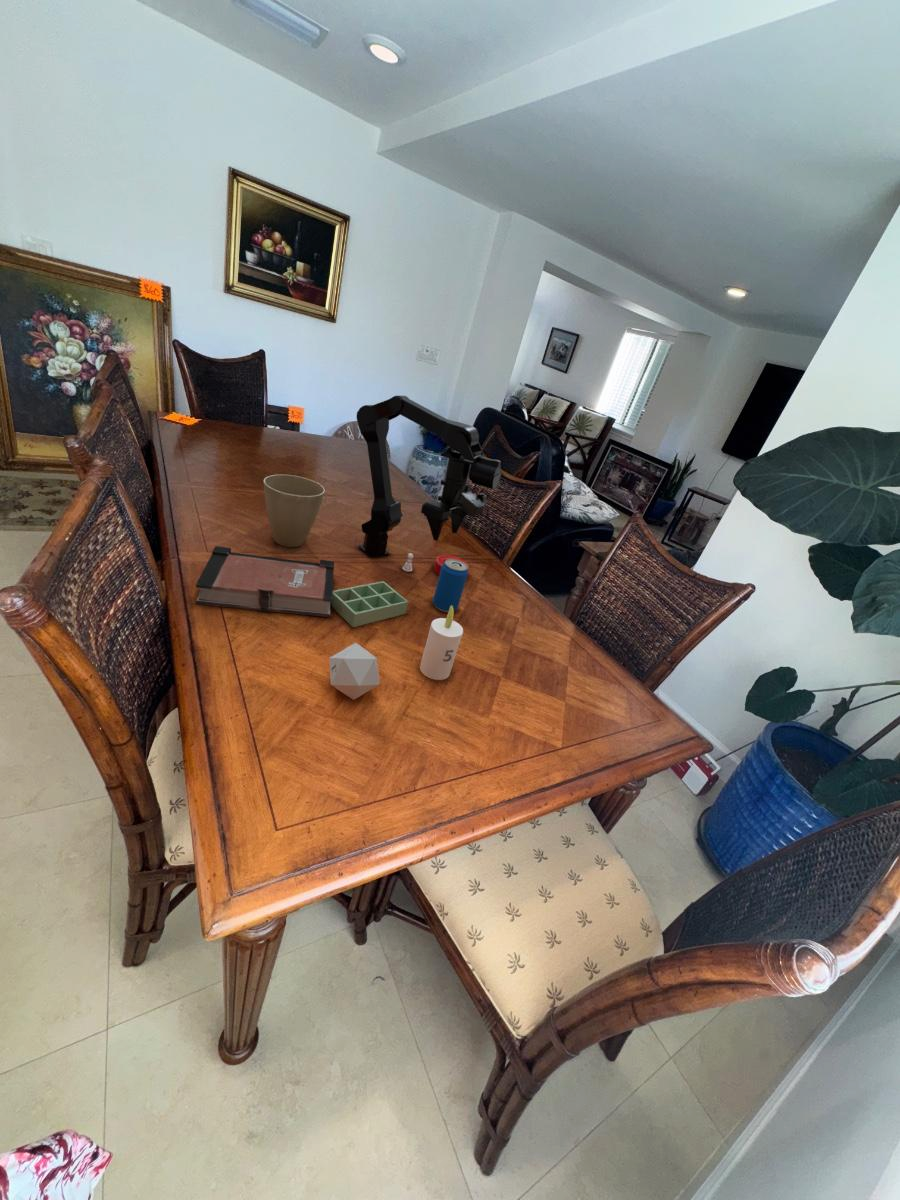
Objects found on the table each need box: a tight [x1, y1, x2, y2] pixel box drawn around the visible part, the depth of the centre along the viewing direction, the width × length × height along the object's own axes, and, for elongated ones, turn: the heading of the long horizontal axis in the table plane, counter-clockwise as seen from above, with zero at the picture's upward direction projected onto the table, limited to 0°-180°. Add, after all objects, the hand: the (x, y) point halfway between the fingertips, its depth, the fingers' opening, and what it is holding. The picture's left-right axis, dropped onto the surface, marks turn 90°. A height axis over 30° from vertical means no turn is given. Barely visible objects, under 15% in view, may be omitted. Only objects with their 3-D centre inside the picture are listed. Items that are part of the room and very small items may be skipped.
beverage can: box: [432, 559, 469, 613], centre depth 117 cm, size 6×6×12 cm
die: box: [328, 642, 381, 701], centre depth 85 cm, size 8×9×10 cm
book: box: [195, 545, 335, 618], centre depth 106 cm, size 26×18×5 cm
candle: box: [419, 605, 464, 681], centre depth 94 cm, size 6×6×15 cm
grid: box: [331, 580, 409, 628], centre depth 110 cm, size 10×15×3 cm
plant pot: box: [263, 473, 326, 548], centre depth 126 cm, size 15×15×16 cm
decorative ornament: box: [433, 554, 470, 576], centre depth 138 cm, size 10×10×3 cm
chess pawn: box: [402, 552, 415, 573], centre depth 132 cm, size 3×3×5 cm
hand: (445, 536), depth 127 cm, fingers open, 9 cm apart
